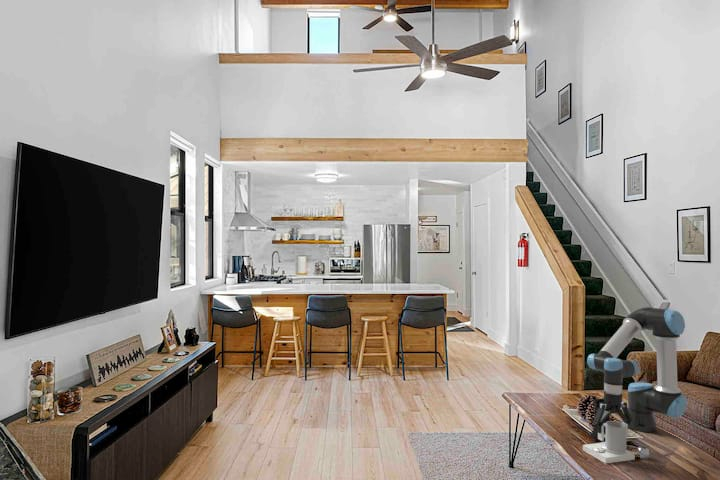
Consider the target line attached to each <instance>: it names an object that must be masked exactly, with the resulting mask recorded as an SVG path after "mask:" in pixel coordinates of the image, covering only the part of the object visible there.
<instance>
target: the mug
mask: <svg viewBox="0 0 720 480" xmlns="http://www.w3.org/2000/svg"><path fill="white" fill-rule="evenodd" d="M602 426H603V427H604V426H605V427H606V435H605V434H604V438H606V439H605V446H606V448H608V449H609V450H612V451H616V452H625V451H626V450H627V438H626V425H625V424H623V423H622V422H621V421H615V420H608V421H607V422H606V423H604V424H603V425H602Z"/></svg>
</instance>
